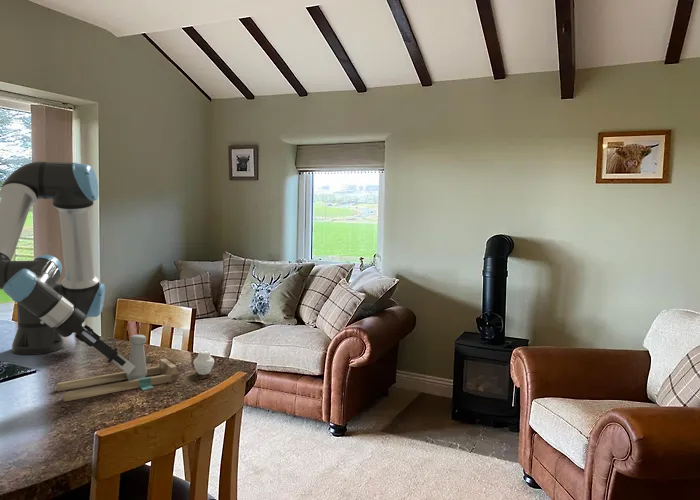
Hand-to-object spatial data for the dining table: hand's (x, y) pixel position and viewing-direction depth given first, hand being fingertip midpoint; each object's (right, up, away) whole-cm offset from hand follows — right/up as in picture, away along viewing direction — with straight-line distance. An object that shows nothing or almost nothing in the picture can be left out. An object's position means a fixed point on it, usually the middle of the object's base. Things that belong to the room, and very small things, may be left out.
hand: (131, 369), depth 146 cm
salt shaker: (0, -4, +3) cm, 5 cm away
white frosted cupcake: (+17, -4, +12) cm, 21 cm away
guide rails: (-3, -4, -1) cm, 5 cm away
